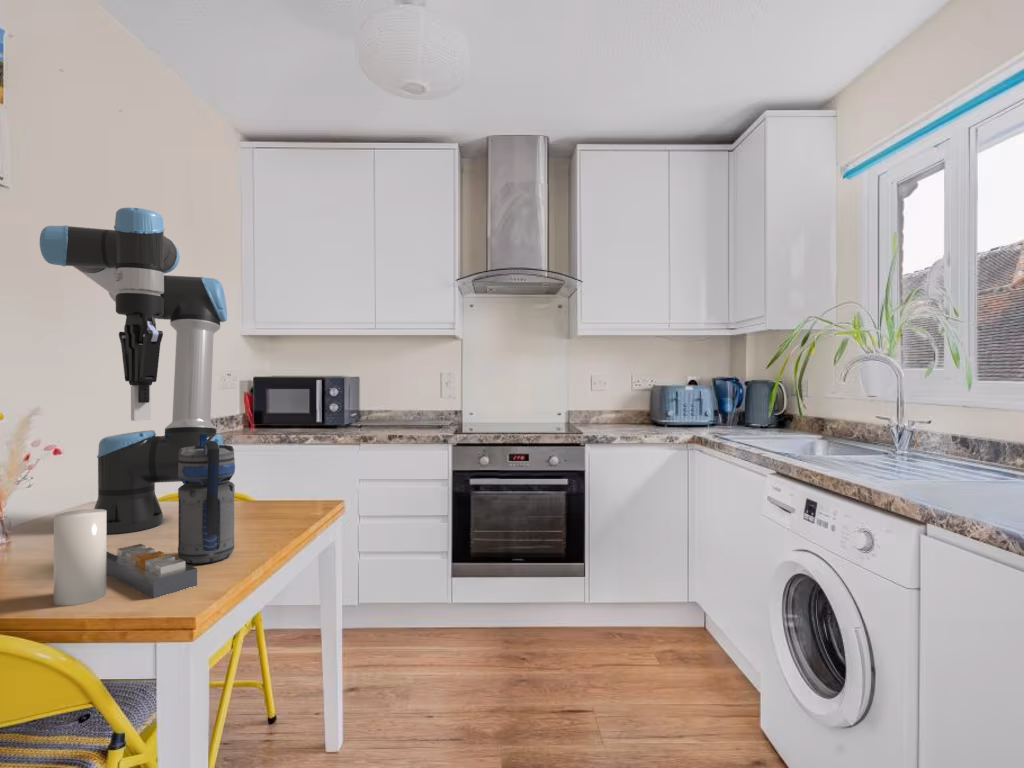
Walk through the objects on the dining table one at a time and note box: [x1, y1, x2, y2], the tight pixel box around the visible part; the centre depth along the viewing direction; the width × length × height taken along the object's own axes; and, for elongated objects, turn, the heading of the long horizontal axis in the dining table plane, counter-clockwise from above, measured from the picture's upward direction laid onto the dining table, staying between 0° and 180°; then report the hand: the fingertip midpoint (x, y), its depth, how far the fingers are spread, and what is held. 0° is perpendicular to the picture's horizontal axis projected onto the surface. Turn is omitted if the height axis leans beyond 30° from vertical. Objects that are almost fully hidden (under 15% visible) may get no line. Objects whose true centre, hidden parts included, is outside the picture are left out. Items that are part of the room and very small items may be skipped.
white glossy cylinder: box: [53, 508, 108, 607], centre depth 94 cm, size 7×7×14 cm
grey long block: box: [106, 543, 198, 599], centre depth 103 cm, size 20×7×5 cm, turn 55°
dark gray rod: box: [106, 550, 116, 558], centre depth 114 cm, size 11×1×1 cm, turn 54°
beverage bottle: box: [177, 434, 236, 565], centre depth 115 cm, size 10×13×25 cm
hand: (140, 420), depth 106 cm, fingers closed
